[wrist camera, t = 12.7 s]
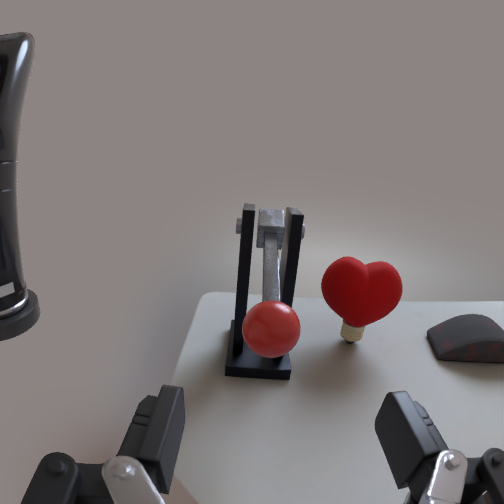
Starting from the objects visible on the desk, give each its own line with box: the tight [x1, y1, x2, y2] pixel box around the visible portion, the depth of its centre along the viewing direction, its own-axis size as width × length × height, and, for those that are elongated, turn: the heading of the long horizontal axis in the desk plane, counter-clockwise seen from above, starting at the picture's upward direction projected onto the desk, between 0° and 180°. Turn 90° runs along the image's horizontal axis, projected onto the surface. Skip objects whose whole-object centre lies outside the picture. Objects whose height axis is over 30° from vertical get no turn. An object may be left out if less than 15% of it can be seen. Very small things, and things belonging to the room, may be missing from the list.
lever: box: [242, 208, 300, 358], centre depth 22 cm, size 14×4×4 cm, turn 0°
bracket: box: [225, 204, 305, 380], centre depth 28 cm, size 9×6×15 cm, turn 0°
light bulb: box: [321, 257, 402, 343], centre depth 32 cm, size 9×7×10 cm
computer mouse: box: [427, 314, 504, 362], centre depth 30 cm, size 8×14×4 cm, turn 74°
